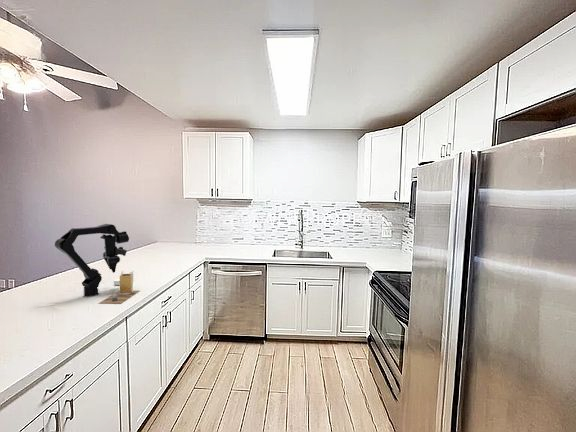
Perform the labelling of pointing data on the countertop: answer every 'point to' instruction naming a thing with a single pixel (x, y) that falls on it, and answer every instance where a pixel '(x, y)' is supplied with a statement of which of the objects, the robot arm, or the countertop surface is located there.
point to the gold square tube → (126, 283)
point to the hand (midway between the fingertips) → (112, 270)
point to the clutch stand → (118, 298)
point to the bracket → (117, 281)
